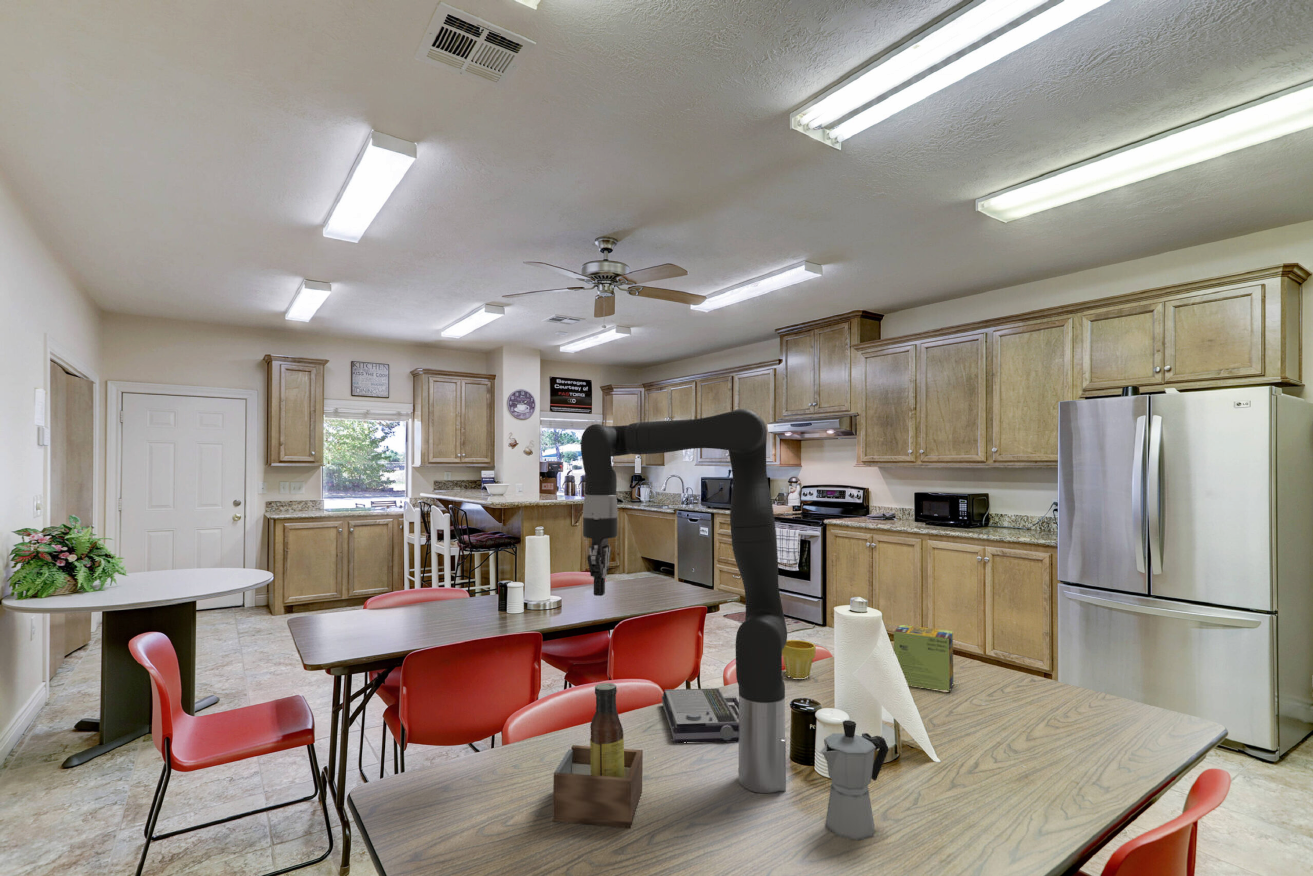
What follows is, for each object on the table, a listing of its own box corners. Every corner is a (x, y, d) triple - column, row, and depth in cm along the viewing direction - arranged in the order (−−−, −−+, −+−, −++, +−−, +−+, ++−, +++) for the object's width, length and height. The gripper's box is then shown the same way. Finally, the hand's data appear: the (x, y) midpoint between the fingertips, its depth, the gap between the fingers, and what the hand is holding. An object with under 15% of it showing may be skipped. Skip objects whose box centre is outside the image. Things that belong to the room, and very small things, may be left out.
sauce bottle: (629, 790, 121) (630, 682, 122) (616, 806, 115) (617, 693, 116) (598, 784, 123) (599, 678, 124) (583, 799, 117) (585, 688, 118)
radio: (661, 687, 170) (735, 685, 172) (661, 707, 170) (735, 705, 172) (673, 723, 146) (758, 720, 148) (673, 746, 146) (758, 743, 148)
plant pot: (814, 672, 200) (814, 640, 200) (816, 683, 190) (816, 649, 190) (780, 670, 202) (780, 638, 202) (780, 680, 192) (780, 647, 192)
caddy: (642, 792, 124) (642, 750, 125) (630, 828, 112) (631, 781, 112) (572, 786, 126) (572, 745, 127) (552, 821, 114) (553, 775, 114)
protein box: (950, 694, 182) (949, 638, 182) (893, 684, 189) (892, 631, 190) (954, 683, 191) (953, 630, 191) (899, 674, 198) (899, 624, 199)
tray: (634, 788, 123) (634, 754, 124) (624, 815, 113) (624, 778, 114) (568, 783, 125) (568, 749, 125) (553, 809, 115) (553, 773, 115)
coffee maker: (837, 848, 107) (836, 737, 107) (804, 821, 115) (804, 718, 116) (905, 828, 112) (904, 724, 113) (870, 804, 121) (869, 707, 121)
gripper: (590, 513, 148) (589, 589, 147) (575, 517, 135) (574, 600, 134) (622, 513, 147) (621, 590, 146) (610, 518, 134) (609, 601, 133)
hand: (599, 595), depth 140 cm, fingers closed
